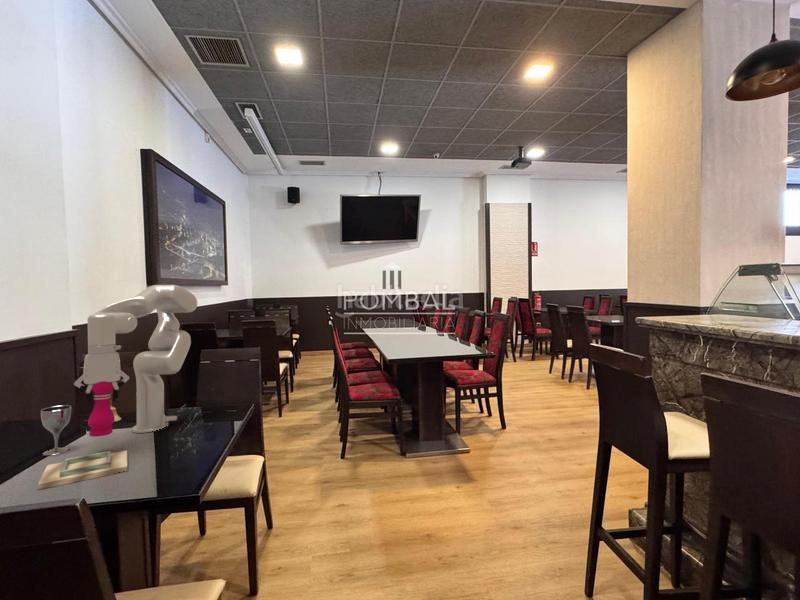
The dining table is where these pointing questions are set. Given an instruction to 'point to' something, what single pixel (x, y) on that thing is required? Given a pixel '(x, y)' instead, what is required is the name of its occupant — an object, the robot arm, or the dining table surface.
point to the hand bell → (114, 409)
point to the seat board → (83, 468)
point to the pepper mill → (101, 410)
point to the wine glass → (55, 423)
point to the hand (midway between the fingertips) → (103, 401)
